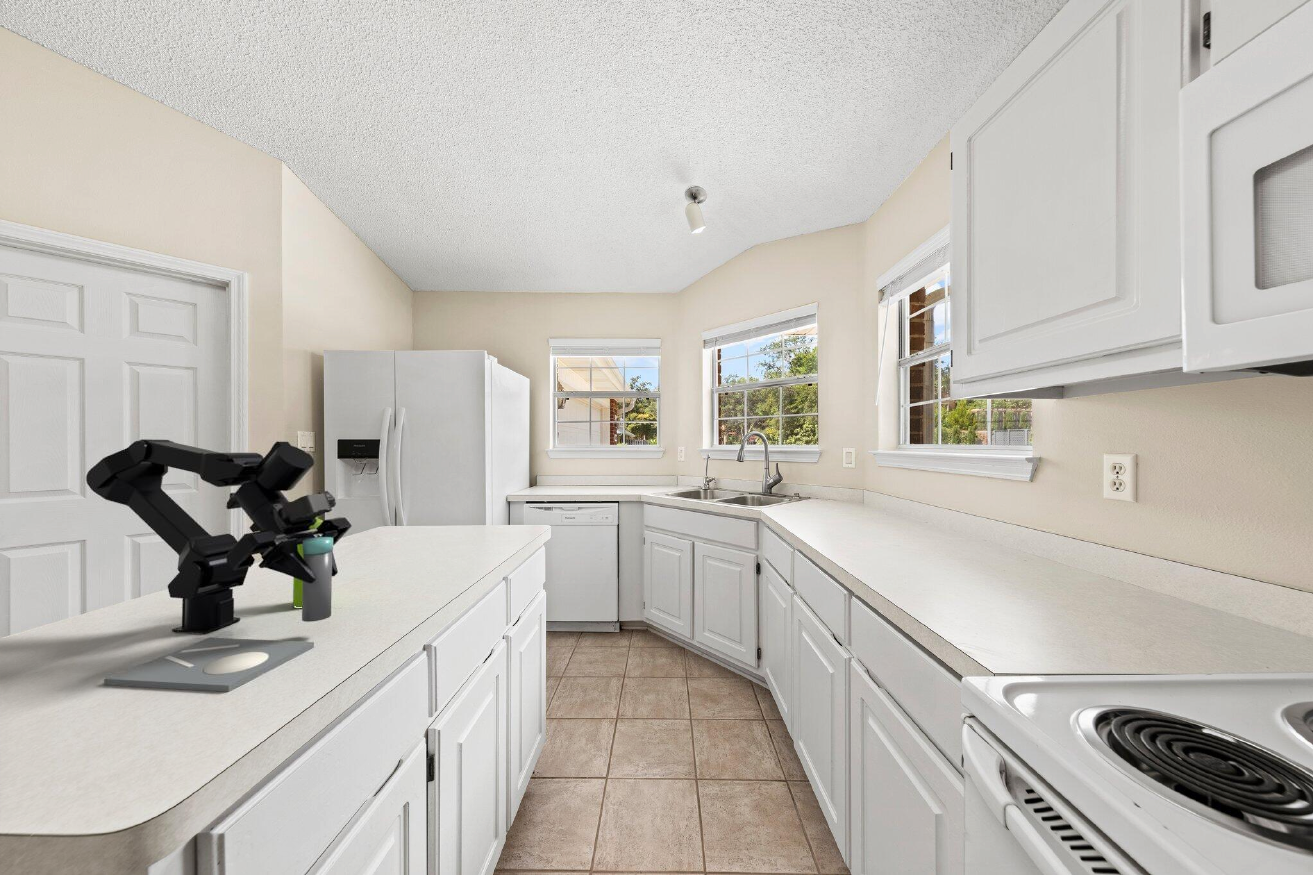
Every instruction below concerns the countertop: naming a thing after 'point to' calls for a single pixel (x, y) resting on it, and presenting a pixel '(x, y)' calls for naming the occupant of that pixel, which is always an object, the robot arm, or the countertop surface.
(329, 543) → the marker
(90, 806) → the countertop surface
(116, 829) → the countertop surface
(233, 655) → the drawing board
